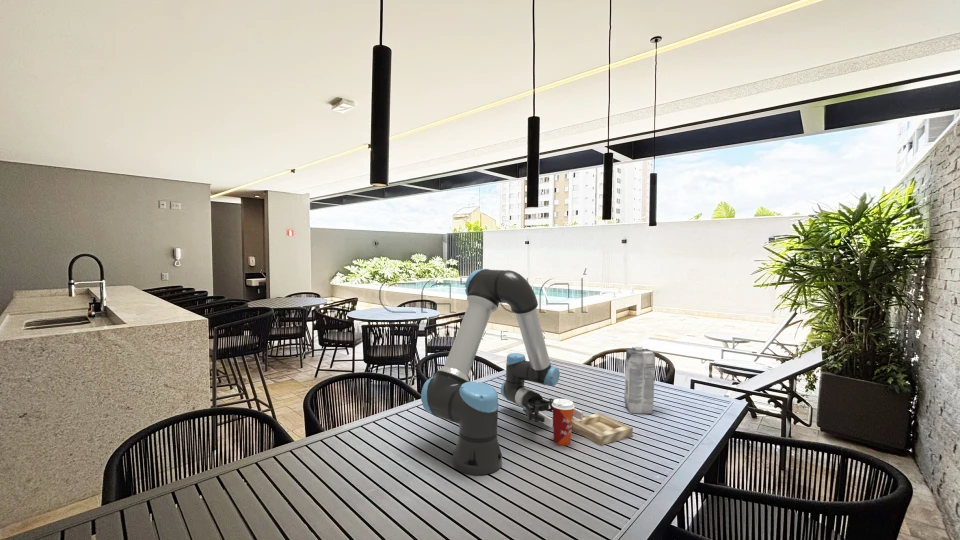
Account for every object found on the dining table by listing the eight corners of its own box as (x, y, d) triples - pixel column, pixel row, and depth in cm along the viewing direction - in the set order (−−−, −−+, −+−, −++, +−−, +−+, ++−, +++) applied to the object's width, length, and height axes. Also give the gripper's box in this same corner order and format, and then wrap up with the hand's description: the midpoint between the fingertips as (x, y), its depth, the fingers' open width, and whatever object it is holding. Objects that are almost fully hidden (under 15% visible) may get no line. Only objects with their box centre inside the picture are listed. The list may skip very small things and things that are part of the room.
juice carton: (655, 415, 168) (657, 349, 167) (629, 414, 168) (631, 349, 167) (646, 407, 177) (649, 345, 176) (622, 406, 177) (624, 344, 176)
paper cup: (567, 449, 136) (568, 407, 135) (546, 442, 140) (547, 402, 140) (577, 441, 142) (578, 401, 141) (557, 435, 146) (558, 396, 146)
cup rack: (600, 445, 139) (600, 436, 139) (568, 427, 153) (568, 420, 153) (632, 436, 147) (632, 428, 147) (599, 420, 161) (599, 412, 161)
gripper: (553, 404, 164) (593, 423, 146) (501, 415, 151) (538, 437, 133) (554, 386, 164) (594, 402, 145) (502, 395, 151) (538, 415, 133)
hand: (567, 419), depth 139 cm, fingers open, 13 cm apart
